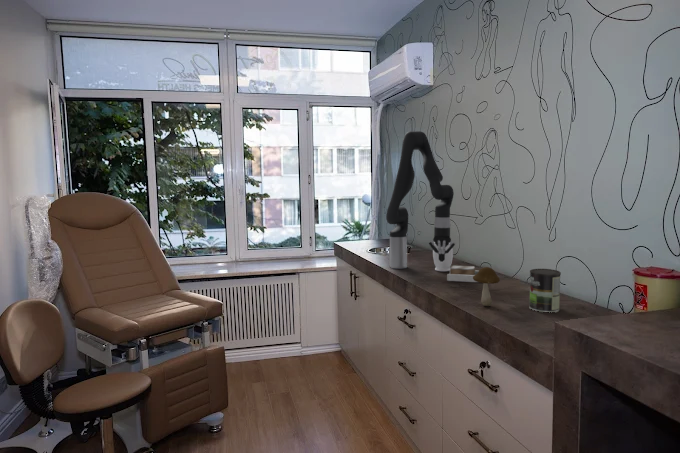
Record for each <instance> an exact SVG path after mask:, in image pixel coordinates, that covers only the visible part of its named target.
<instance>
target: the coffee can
mask: <svg viewBox="0 0 680 453" xmlns="http://www.w3.org/2000/svg"><path fill="white" fill-rule="evenodd" d="M561 274H562V272H561V271H559V270H556V269H551V268H533V269H530V270H529V306H528V308H529V309H530V310H531V309H532V310H531V311H534V310H535V311H534V312H537V311H539V312H538V313H543V312H549V313H548V314H553V313H552V312H555V313H558V312H559V311H560V295H561V293H560V291H561V290H560V289H561ZM550 312H551V313H550Z"/></svg>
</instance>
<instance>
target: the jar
mask: <svg viewBox="0 0 680 453" xmlns="http://www.w3.org/2000/svg"><path fill="white" fill-rule="evenodd" d="M434 246H435V247H436V248H437V250H438V246H437V245H436V244H435V242H434ZM449 247H450V243H449V244H448V245H447V246H446V249H445V251H446V250H447V249H448V248H449ZM442 248H443V247H442ZM442 248H441V249H442ZM453 248H454V247H453ZM453 248H452V249H451V250H450V251H449V252H448V253H446V254H445V260H444V261H443V262H440V260H439V254H438V253H436V252H435V251H434V250H433V249H432V258H433V263H434V266H435V268H434V270H435V271H437V272H450V269H451V267H452V262H453V256H454V249H453Z"/></svg>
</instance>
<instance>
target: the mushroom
mask: <svg viewBox="0 0 680 453" xmlns="http://www.w3.org/2000/svg"><path fill="white" fill-rule="evenodd" d="M478 271H479V272H478V273H477V274H476V275H474V276H473V279H474V281H477V282H476V283H481V284H482V292H481V300H480V301H481V305H482V306H483V307H490V306H491V305H492V302H493V301H492V300H493V299H492V297H491V293H490V289H489V285H492V284H493V285H494V284H498V283H499V282H500V281H501V279H500V277H499V276H498V274H497V273H496V271H495V270H494V269H493V268H491V267H489V266H488V267H487V266H485V267H481V268H480V269H479V270H478Z"/></svg>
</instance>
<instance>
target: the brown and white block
mask: <svg viewBox="0 0 680 453" xmlns="http://www.w3.org/2000/svg"><path fill="white" fill-rule="evenodd" d="M450 268H451V269H450V271H449V274H460V275H475V270H476V267H475V266H473V265H472V266H471V265H470V266H469V265H451V266H450Z"/></svg>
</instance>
